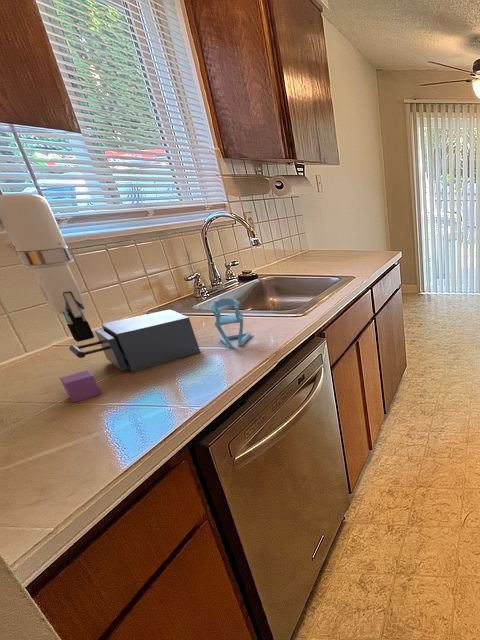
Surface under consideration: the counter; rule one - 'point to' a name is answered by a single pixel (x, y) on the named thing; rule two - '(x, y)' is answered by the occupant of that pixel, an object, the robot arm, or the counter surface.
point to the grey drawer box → (154, 338)
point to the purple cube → (80, 386)
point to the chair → (229, 321)
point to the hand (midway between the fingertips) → (84, 339)
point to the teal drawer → (104, 349)
